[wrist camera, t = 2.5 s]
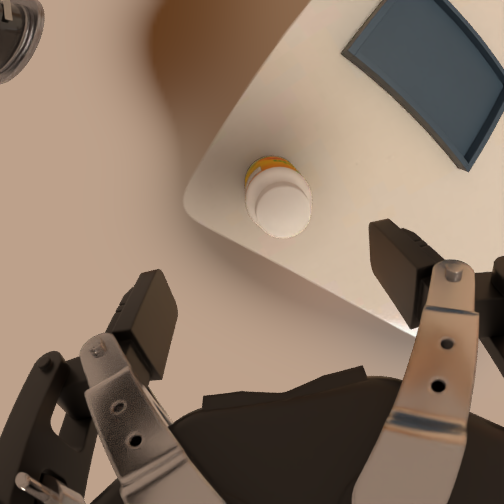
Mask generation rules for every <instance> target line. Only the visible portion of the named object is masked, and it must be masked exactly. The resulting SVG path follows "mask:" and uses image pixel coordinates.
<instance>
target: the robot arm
mask: <svg viewBox="0 0 504 504" xmlns="http://www.w3.org/2000/svg"><path fill="white" fill-rule="evenodd" d="M29 26H30V15H29V12H28V10H27V8H26V7H25V6H23V5H20V4H17V3H10V0H0V73H1V72H2V71H4V70H5V69H7V68H8V67H9V66H10V65H11V64H12V62H13V61H14V60H15V59H16V57H17V56H18V54H19V53H20V51H21V49H22V47H23V45H24V43H25V40H26V38H27V35H28V31H29ZM369 243H370V262H371V267H372V270H373V273H374V275H375V276H376V278H377V279H378V281H379V282H380V284H381V285H382V287H383V288H384V289H385V291H386V292H387V294H388V295H389V297H390V298H391V300H392V301H393V303H394V304H395V306H396V307H397V309H398V311H399V312H400V314H401V315H402V317H403V318H404V320H405V321H406V323H407V325H408V326H409V328H410V329H414V328H417V327H419V328H418V332H417V336H416V339H415V343H414V346H413V350H412V353H411V356H410V359H409V363H408V366H407V369H406V372H405V375H404V378H403V380H400V379H396V378H392V377H384V376H367V375H366V373H365V370H364V368H363V366H358V367H355V368H351V369H347V370H343V371H340V372H336V373H332V374H328V375H324V376H321V377H319V378H317V379H315V380H313V381H310V382H308V383H306V384H304V385H301V386H299V387H297V388H294V389H292V390H290V391H287V392H283V393H265V392H245V391H240V392H232V393H225V394H217V395H207V396H203V403H202V408H200V409H197V410H195V411H192V412H190V413H188V414H186V415H185V416H183V417H181V418H180V419H178V420H177V421H175V422H173V421H172V420H171V419H170V417H169V416H168V414H167V413H166V411H165V410H164V409H163V407H162V406H161V404H160V403H159V401H158V400H157V398H156V397H155V395H154V394H153V392H152V391H151V389H150V388H149V387H148V385H149V381H152V380H162V378H163V374H164V369H165V365H166V361H167V357H168V353H169V349H170V344H171V341H172V336H173V333H174V329H175V324H176V321H177V317H178V310H177V305H176V302H175V299H174V297H173V295H172V293H171V291H170V288H169V286H168V283H167V281H166V279H165V276H164V274H163V272H162V271H161V270H160V269H157V270H153V271H149V272H144V273H141V274H140V276H139V278H138V280H137V282H136V284H135V285H134V287H132V288H131V289H130V290H129V291H128V292H127V293H126V294H125V295H124V297H123V299H122V300H121V302H120V304H119V305H120V306H118V308H117V310H116V313H115V314H114V316H113V318H112V320H111V322H110V324H109V326H108V328H107V330H106V332H105V333H101V334H98V335H96V336H94V337H92V338H91V339H89V340H88V341H87V342H86V343H85V344H84V345H83V347H82V349H81V351H80V356H79V357H76V358H74V359H71V360H68V361H65V359H64V358H63V357H62V355H61V354H60V353H59V352H57V351H51V352H49V353H46V354H44V355H43V356H42V357H40V358H39V359H38V360H37V362H36V363H35V364H34V366H33V368H32V370H31V372H30V374H29V376H28V377H27V380H26V382H25V383H24V385H23V387H22V390H21V392H20V394H19V396H18V398H17V400H16V402H15V404H14V407H13V409H12V411H11V413H10V415H9V418H8V420H7V422H6V425H5V427H4V430H3V432H2V435H1V437H0V504H85V501H84V496H85V490H86V485H87V479H88V474H89V470H90V465H91V459H92V455H93V451H94V447H95V443H96V438H97V434H99V437H100V439H101V442H102V444H103V447H104V449H105V451H106V453H107V456H108V458H109V460H110V463H111V465H112V467H113V469H114V471H115V473H116V475H117V477H118V478H117V479H116V480H115V481H114V482H113V483H112V484H111V485H109V486H108V487H107V488H106V489H105V490H104V491H103V492H102V493H101V494H100V495H99V496H98V497H97V498H95V499H94V500H93V501H92V502H91V503H90V504H504V427H502V426H500V425H498V424H495V423H493V422H491V421H489V420H486V419H484V418H482V417H479V416H477V415H475V414H473V413H471V412H469V411H470V405H471V399H472V394H473V387H474V380H475V372H476V363H477V352H478V338H479V339H480V341H481V342H482V344H483V345H484V347H485V348H486V350H487V351H488V353H489V354H490V356H491V358H492V359H493V361H494V363H495V364H496V366H497V367H498V369H499V371H500V372H501V374H502V376H503V377H504V256H501V257H499V258H497V259H496V260H495V261H494V266H493V271H492V272H483V273H474V270H473V269H472V268H471V267H470V266H469V265H468V264H466V263H464V262H462V261H458V260H444V259H443V258H442V257H441V256H440V255H439V254H438V253H437V252H436V251H435V250H433V249H432V248H431V247H430V246H428V245H427V243H426V242H424V241H423V240H422V239H421V238H420V237H419V236H418V235H416V234H415V233H414V232H412V231H409V230H407V229H404V228H402V229H400V228H399V227H398V226H397V225H396V224H394V223H393V222H392V221H391V220H390V219H384V220H379V221H375V222H370V224H369ZM56 403H57V404H58V405H59V406H60V407H61V408H62V409H63V410H64V411H65V412H66V415H65V418H64V421H63V424H62V427H61V430H60V433H59V436H58V435H56V434H55V433H54V431H53V430H52V428H51V424H50V420H51V416H52V414H53V411H54V408H55V406H56Z"/></svg>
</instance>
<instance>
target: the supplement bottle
mask: <svg viewBox="0 0 504 504" xmlns="http://www.w3.org/2000/svg"><path fill="white" fill-rule="evenodd" d="M245 203H246V208H247V211H248V214H249V216H250V217H251V219H252V220H253V221H254V222H255V223H256V224H257V225H258V226H259V227H261V229H262V230H263V231H264V232H266V233H267V234H268V235H270V236H272V237H275V238H290V237H293V236H296V235H297V234H299V233H300V232H302V231H303V230H304V229H305V228H306V226H307V225H308V223H309V221H310V218H311V206H312V193H311V189H310V187H309V185H308V183H307V181H306V180H305V179H304V177H303V176H302V175H301V174H300V173H299V172H298V171H297V170H296V168H295V167H294V166H293V165H292V164H291V163H290V162H289V161H287V160H286V159H284V158H281V157H278V156H266V157H263V158H260V159H258V160H257V161H255V162H254V163H253V164H252V165H251V166H250V168H249V169H248V171H247V174H246V177H245Z"/></svg>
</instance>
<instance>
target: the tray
mask: <svg viewBox="0 0 504 504" xmlns="http://www.w3.org/2000/svg"><path fill="white" fill-rule="evenodd" d="M341 54H342V55H343V56H345V57H346V58H347V59H349V60H350V61H351V62H352V63H354V64H355V65H356V66H357V67H359V68H360V69H361V70H362V71H364V72H365V73H366V74H367V75H368V76H370V77H371V78H372V79H373V80H374V81H376V82H377V83H378V84H379V85H380V86H381V87H382V88H384V89H385V90H386V91H387V92H388V93H389V94H390V95H391V96H392V97H393V98H394V99H396V100H397V101H398V102H399V103H400V104H401V105H402V106H403V107H404V108H405V109H406V110H407V111H408V112H409V113H410V114H411V115H412V116H413V117H414V118H415V119H416V120H417V121H418V122H419V123H420V124H421V125H422V126H423V127H424V129H425V130H426V131H427V132H428V133H429V134H430V135H431V136H432V137H433V138H434V139H435V141H436V142H437V143H438V144H439V145H440V146H441V147H442V149H443V150H444V151H445V152H446V153H447V155H448V156H449V157H450V158H451V159H452V161H453V162H454V163H455V164H456V166H457V167H458V168H459V169H462V170H464V171H467V172H469V171H470V169H471V168H472V166H473V165H474V163H475V161H476V160H477V158H478V156H479V155H480V153H481V151H482V150H483V148H484V146H485V145H486V143H487V141H488V139H489V138H490V136H491V134H492V132H493V130H494V129H495V127H496V125H497V123H498V121H499V119H500V117H501V115H502V114H503V112H504V69H503V67H502V66H501V64H500V63H499V61H498V60H497V59H496V57H495V56H494V54H493V53H492V52H491V50H490V49H489V48H488V46H487V45H486V44H485V42H484V41H483V40H482V38H481V37H480V36H479V35H478V33H477V32H476V31H475V30H474V29H473V27H472V26H471V25H470V24H469V23H468V21H467V20H466V19H465V18H464V17H463V16H462V15H461V14H460V12H459V11H458V10H457V9H456V8H455V7H454V6H453V5H452V4H451V3H450V2H449V1H448V0H383V1H382V2H381V3H380V4H379V6H378V7H377V8H376V9H375V11H374V12H373V13H372V14H371V16H370V17H369V18H368V19H367V21H366V22H365V23H364V24H363V26H362V27H361V28H360V30H359V31H358V32H357V33H356V35H355V36H354V37H353V39H352V40H351V41H350V42H349V44H348V45H347V46H346V48H345V49H344V50H343V52H342V53H341Z"/></svg>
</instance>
